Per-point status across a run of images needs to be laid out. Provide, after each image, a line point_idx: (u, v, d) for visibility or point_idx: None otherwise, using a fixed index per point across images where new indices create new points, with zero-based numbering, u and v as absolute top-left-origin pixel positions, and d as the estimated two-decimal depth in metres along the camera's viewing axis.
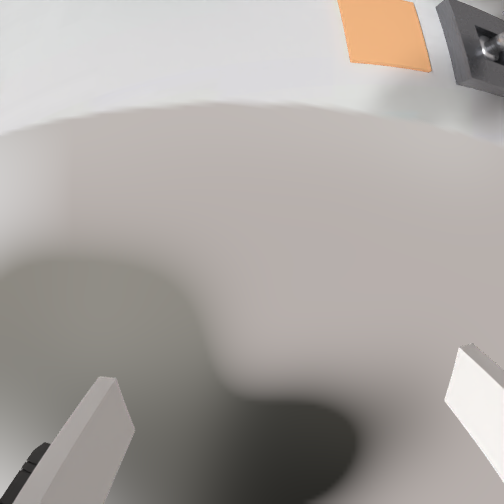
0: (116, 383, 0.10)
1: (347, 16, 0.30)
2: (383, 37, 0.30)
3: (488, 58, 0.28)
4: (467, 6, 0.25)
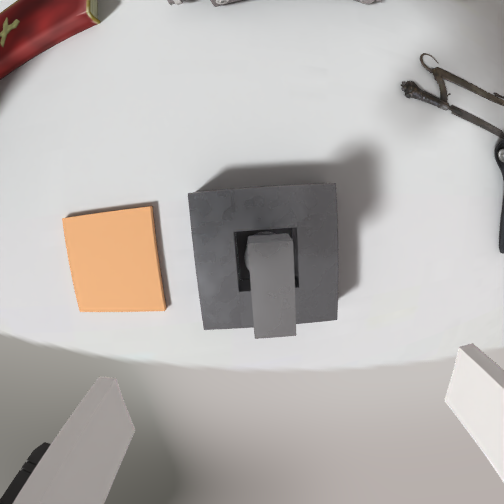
0: (116, 383, 0.10)
1: (71, 258, 0.33)
2: (106, 279, 0.34)
3: None
4: (230, 192, 0.29)
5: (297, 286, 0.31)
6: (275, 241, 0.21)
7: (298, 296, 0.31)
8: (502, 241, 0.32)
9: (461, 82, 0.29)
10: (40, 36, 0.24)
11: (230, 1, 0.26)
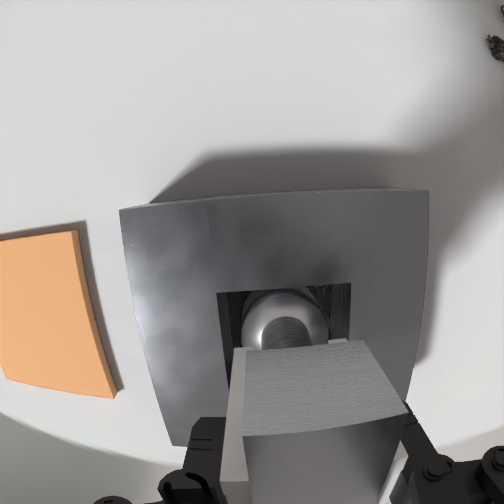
0: None
1: None
2: (27, 343, 0.18)
3: None
4: (207, 206, 0.13)
5: None
6: (347, 418, 0.05)
7: None
8: None
9: None
10: None
11: None
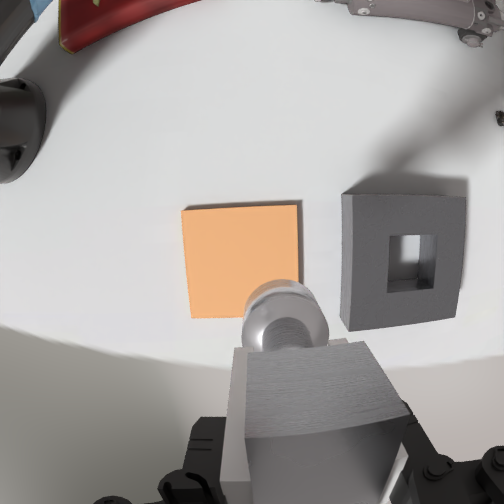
0: (253, 351, 0.12)
1: (190, 257, 0.33)
2: (234, 281, 0.33)
3: None
4: (389, 198, 0.28)
5: (431, 287, 0.30)
6: (349, 420, 0.05)
7: (431, 296, 0.30)
8: None
9: None
10: None
11: (368, 14, 0.25)
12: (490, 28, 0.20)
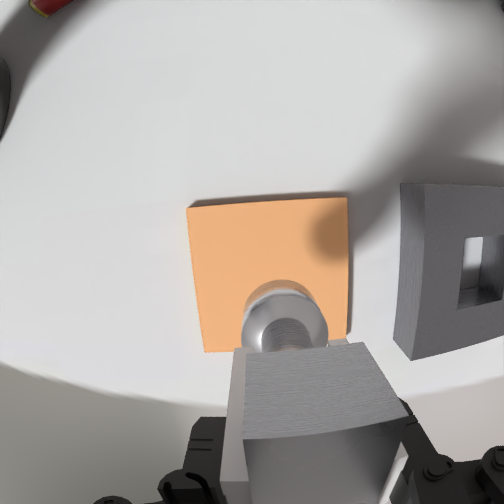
0: (253, 351, 0.12)
1: (200, 272, 0.24)
2: None
3: None
4: (464, 189, 0.19)
5: (499, 298, 0.21)
6: (348, 421, 0.05)
7: (499, 309, 0.21)
8: None
9: None
10: None
11: None
12: None
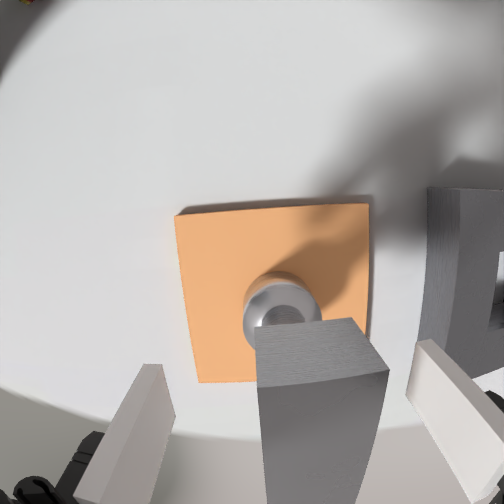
0: (162, 369, 0.11)
1: (192, 293, 0.20)
2: None
3: None
4: (500, 195, 0.15)
5: None
6: (340, 373, 0.06)
7: None
8: None
9: None
10: None
11: None
12: None
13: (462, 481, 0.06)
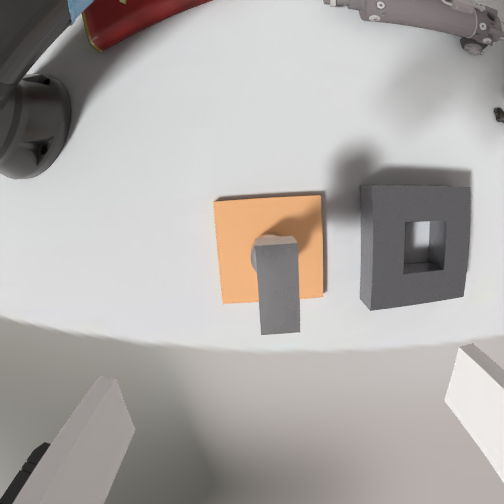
0: (116, 383, 0.10)
1: (222, 245, 0.35)
2: None
3: None
4: (404, 188, 0.31)
5: (441, 269, 0.33)
6: (281, 243, 0.22)
7: (442, 277, 0.33)
8: None
9: None
10: None
11: (378, 20, 0.28)
12: (490, 38, 0.23)
13: None
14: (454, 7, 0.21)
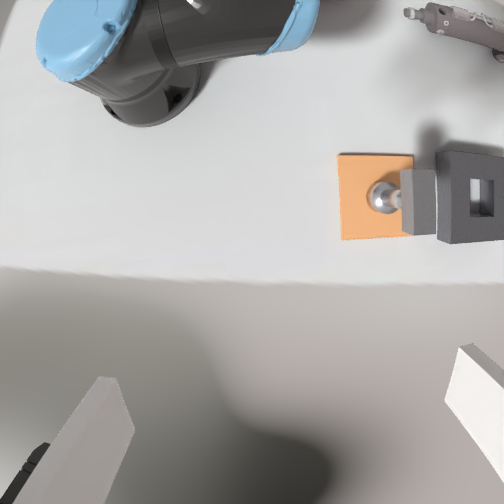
0: (116, 383, 0.10)
1: (344, 190, 0.42)
2: None
3: (383, 212, 0.39)
4: (467, 154, 0.37)
5: (492, 216, 0.39)
6: None
7: (493, 222, 0.39)
8: None
9: None
10: None
11: (441, 33, 0.34)
12: None
13: None
14: (493, 28, 0.28)
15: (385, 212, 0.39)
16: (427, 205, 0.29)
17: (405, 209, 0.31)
